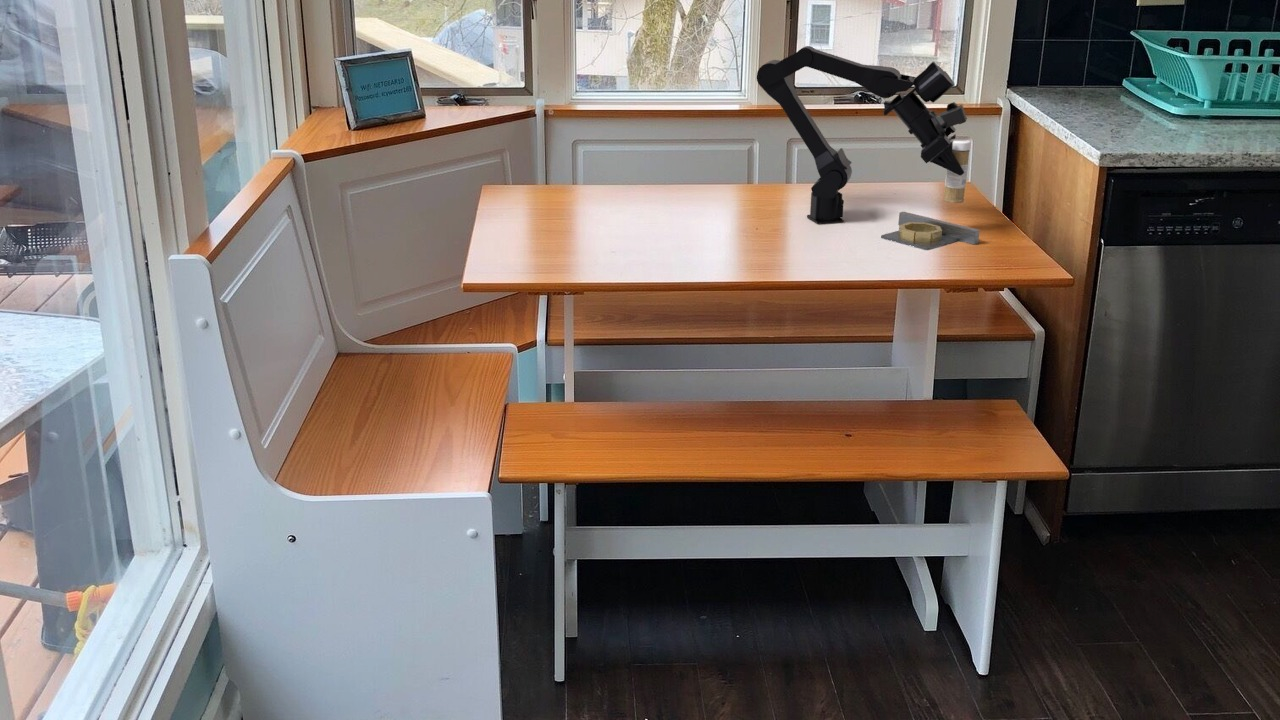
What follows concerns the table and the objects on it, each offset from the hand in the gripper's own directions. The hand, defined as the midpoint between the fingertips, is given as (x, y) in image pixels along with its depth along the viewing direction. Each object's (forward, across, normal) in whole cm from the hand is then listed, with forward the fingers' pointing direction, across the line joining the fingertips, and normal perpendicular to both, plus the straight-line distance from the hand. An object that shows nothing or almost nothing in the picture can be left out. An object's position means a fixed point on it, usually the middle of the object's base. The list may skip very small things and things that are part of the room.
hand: (963, 171), depth 261 cm
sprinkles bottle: (+4, 0, +6) cm, 7 cm away
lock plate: (+4, -9, +14) cm, 18 cm away
